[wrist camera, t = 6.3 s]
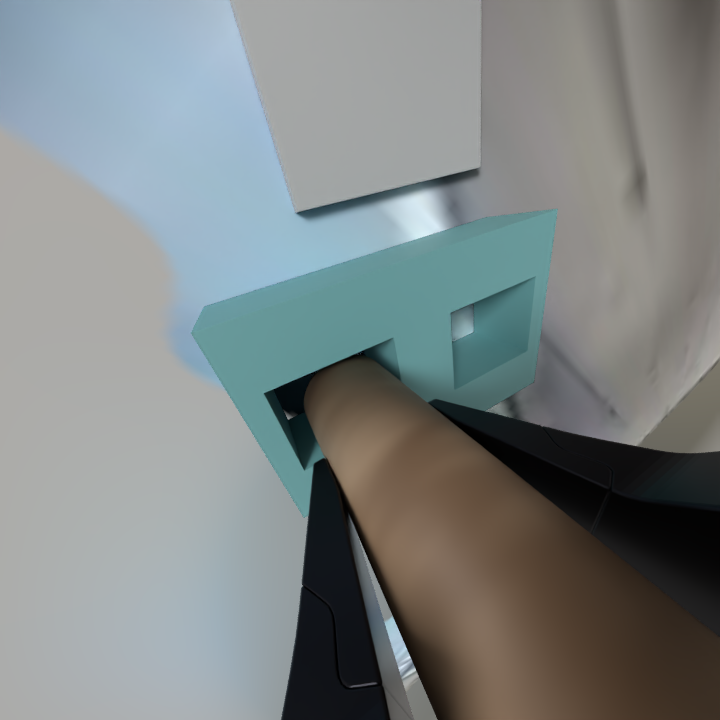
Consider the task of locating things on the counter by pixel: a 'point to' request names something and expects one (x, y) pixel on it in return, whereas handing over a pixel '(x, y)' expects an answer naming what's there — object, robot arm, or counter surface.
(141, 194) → the counter surface
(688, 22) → the counter surface
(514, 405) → the counter surface
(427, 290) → the hole block
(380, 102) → the rubber mat
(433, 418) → the walnut peg
